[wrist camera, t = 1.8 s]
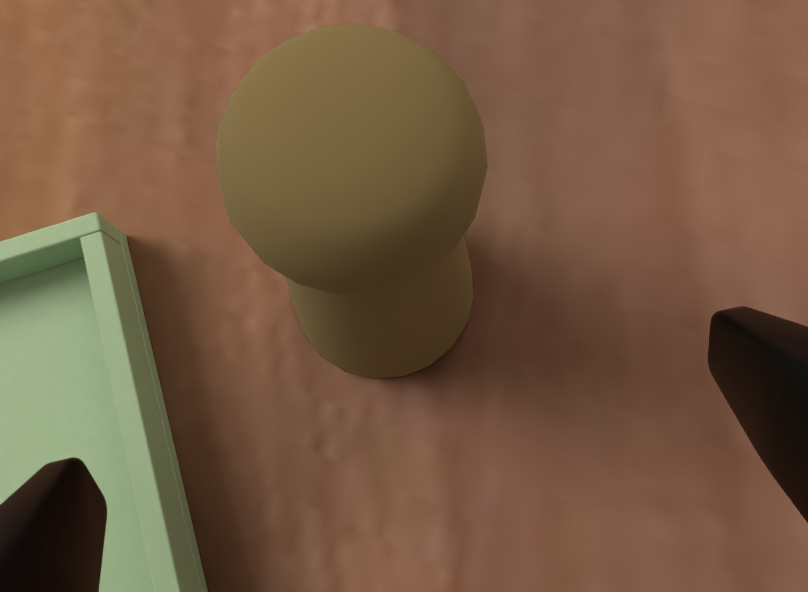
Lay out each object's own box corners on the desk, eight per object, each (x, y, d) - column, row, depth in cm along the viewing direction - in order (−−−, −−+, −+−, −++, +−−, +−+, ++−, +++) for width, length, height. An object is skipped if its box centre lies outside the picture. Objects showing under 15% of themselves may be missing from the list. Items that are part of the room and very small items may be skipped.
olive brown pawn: (431, 408, 21) (436, 347, 10) (261, 334, 22) (99, 204, 11) (501, 242, 22) (572, 32, 11) (339, 178, 23) (263, -75, 12)
